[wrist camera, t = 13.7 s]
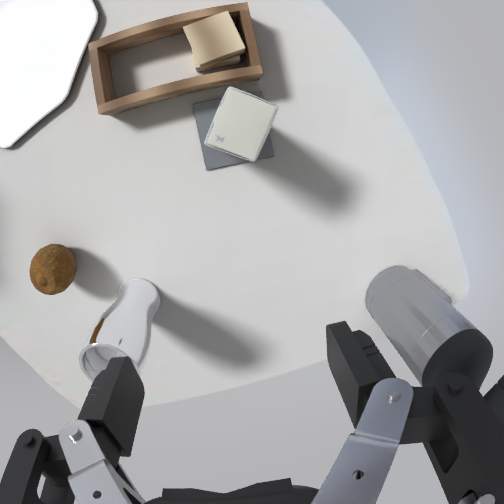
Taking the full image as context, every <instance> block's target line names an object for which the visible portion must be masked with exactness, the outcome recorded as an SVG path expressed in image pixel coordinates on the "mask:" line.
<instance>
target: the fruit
mask: <svg viewBox="0 0 504 504" xmlns="http://www.w3.org/2000/svg"><path fill="white" fill-rule="evenodd" d="M75 273H76V260H75V257H74V255H73V253H72V252H71V251H70V249H69V248H67V247H65V246H63V245H60V244H50V245H47V246H45V247H43V248H41V249H40V250H39V251H38V252H37V253H36V255H35V256H34V257H33V259H32V261H31V266H30V277H31V281H32V283H33V285H34V287H35V288H36V289H37V290H38V291H40V292H42V293H44V294H48V295H55V294H58V293H60V292H63V291H64V290H66V289H67V288H68V286H69V285H70V284H71V283H72V281H73V280H74V277H75Z"/></svg>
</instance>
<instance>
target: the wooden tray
mask: <svg viewBox="0 0 504 504" xmlns="http://www.w3.org/2000/svg"><path fill="white" fill-rule="evenodd" d="M225 11H228V12H229V14H230V16H231V19H232V21H233V23H238V25H239V30H240V34H241V39H242V42H243V44H244V46H245V51H244V53H245V58H246V63H247V67H243V68H237V69H232V70H226V71H221V72H215V73H210V74H206V75H201V76H196V77H192V78H188V79H183V80H179V81H175V82H171V83H168V84H164V85H160V86H157V87H153V88H150V89H146V90H143V91H139V92H136V93H133V94H130V95H127V96H124V97H121V98H118V99H115V93H114V87H113V81H112V75H111V69H110V62H109V55H110V54H113V53H116V52H119V51H122V50H125V49H128V48H131V47H134V46H137V45H140V44H143V43H147V42H150V41H153V40H157V39H161V38H164V37H168V36H172V35H176V34H180V33H184V29H183V27H184V26H187V25H189V24H192V23H194V22H197V21H200V20H202V19H205V18H208V17H210V16H213V15H216V14H219V13H222V12H225ZM88 47H89V55H90V63H91V70H92V77H93V84H94V90H95V96H96V102H97V107H98V113H99V114H102V115H110V116H111V115H114V114H117V113H120V112H123V111H126V110H129V109H133V108H136V107H139V106H143V105H146V104H149V103H153V102H156V101H160V100H164V99H167V98H171V97H175V96H179V95H183V94H187V93H192V92H196V91H201V90H205V89H210V88H215V87H220V86H225V85H230V84H236V83H242V82H248V81H254V80H259V79H260V77H261V76H262V74H263V71H262V67H261V62H260V57H259V52H258V48H257V43H256V38H255V34H254V29H253V25H252V21H251V16H250V12H249V8H248V3H247V2H246V3H238V4H231V5H224V6H218V7H212V8H207V9H202V10H197V11H192V12H187V13H183V14H179V15H174V16H170V17H166V18H163V19H159V20H155V21H152V22H148V23H145V24H142V25H138V26H135V27H132V28H129V29H126V30H123V31H120V32H117V33H115V34H112V35H109V36H106V37H104V38H101V39H99V40H96V41H94V42H91V43H89V44H88Z"/></svg>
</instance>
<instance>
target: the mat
mask: <svg viewBox="0 0 504 504" xmlns="http://www.w3.org/2000/svg"><path fill="white" fill-rule="evenodd" d="M250 94H252V95H255V96H257V97H259V98H262V99H263V97H262V92H261V91H260V92H253V93H250ZM221 100H222V98H220V99H215V100H210V101H205V102H201V103H196V104H193V109H194V114H195V118H196V123H197V128H198V133H199V138H200V143H201V147H202V152H203V157H204V162H205V166H206V170H208V169H213V168H218V167H222V166H227V165H232V164H237V163H242V162H247V161H248V160H245V159H242V158H240V157H237V156H234V155H231V154H228V153H226V152H223V151H220V150H217V149H215V148H212V147H209V146H207V145H205V144H204V141H205V139H206V136H207V133H208V131H209V128H210V126H211V123H212V121H213V118H214V116H215V114H216V111H217V109H218V107H219V105H220V102H221ZM269 157H274V156H273V150H272V145H271V139H270V134H269V133H268V135H267V138H266V140H265V142H264V144H263V147H262V149H261V151H260V153H259V155H258V157H257V159H256V160H258V159H263V158H269Z"/></svg>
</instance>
